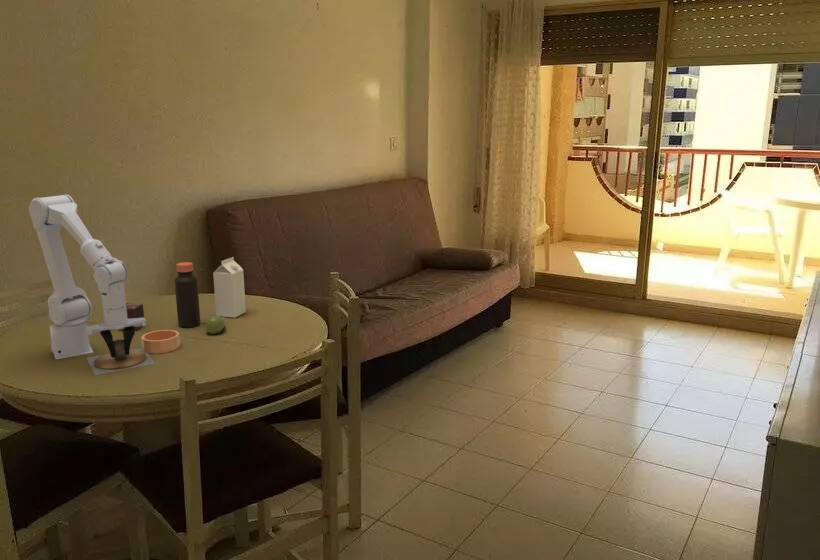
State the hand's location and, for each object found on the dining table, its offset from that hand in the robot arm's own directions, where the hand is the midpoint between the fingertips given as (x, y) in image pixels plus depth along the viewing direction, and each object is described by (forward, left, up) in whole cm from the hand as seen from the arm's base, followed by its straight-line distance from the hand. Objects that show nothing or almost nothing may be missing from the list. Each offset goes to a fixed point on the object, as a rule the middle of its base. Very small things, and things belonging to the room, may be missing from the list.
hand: (119, 355), depth 180 cm
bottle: (+25, +23, -2) cm, 34 cm away
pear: (+30, +13, -2) cm, 33 cm away
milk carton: (+40, +27, -2) cm, 48 cm away
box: (+9, +30, -2) cm, 31 cm away
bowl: (+12, +5, -2) cm, 13 cm away
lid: (0, 0, -2) cm, 2 cm away
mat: (0, 0, -2) cm, 2 cm away
